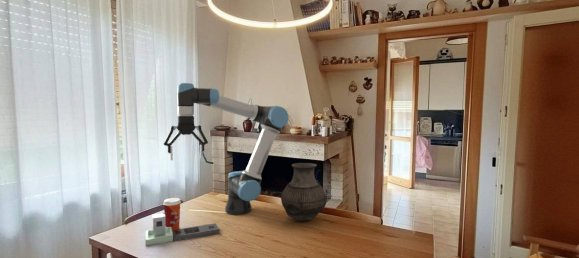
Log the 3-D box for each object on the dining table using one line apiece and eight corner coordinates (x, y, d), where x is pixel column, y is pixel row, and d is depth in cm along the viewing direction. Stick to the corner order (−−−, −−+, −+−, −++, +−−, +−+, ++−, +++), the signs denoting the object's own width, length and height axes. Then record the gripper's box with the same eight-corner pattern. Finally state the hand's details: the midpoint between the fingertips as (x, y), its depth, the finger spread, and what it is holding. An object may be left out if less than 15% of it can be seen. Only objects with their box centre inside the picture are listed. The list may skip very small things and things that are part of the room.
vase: (321, 231, 141) (321, 170, 139) (273, 225, 149) (274, 167, 147) (330, 214, 165) (331, 162, 163) (289, 209, 172) (289, 159, 170)
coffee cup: (175, 234, 138) (174, 203, 137) (159, 232, 139) (159, 201, 138) (184, 227, 146) (184, 197, 145) (170, 225, 147) (169, 196, 147)
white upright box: (165, 233, 136) (164, 212, 135) (165, 238, 131) (165, 216, 131) (153, 235, 134) (152, 214, 133) (153, 240, 129) (153, 218, 129)
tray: (171, 231, 140) (171, 226, 140) (173, 240, 130) (172, 235, 130) (145, 235, 135) (145, 230, 135) (145, 245, 125) (145, 239, 125)
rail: (215, 227, 146) (215, 223, 146) (219, 233, 138) (219, 228, 138) (173, 234, 137) (172, 229, 137) (174, 241, 130) (174, 236, 130)
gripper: (210, 115, 149) (211, 156, 150) (157, 115, 138) (158, 159, 139) (213, 115, 142) (214, 158, 143) (157, 115, 131) (158, 162, 133)
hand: (186, 159), depth 141 cm, fingers open, 13 cm apart
